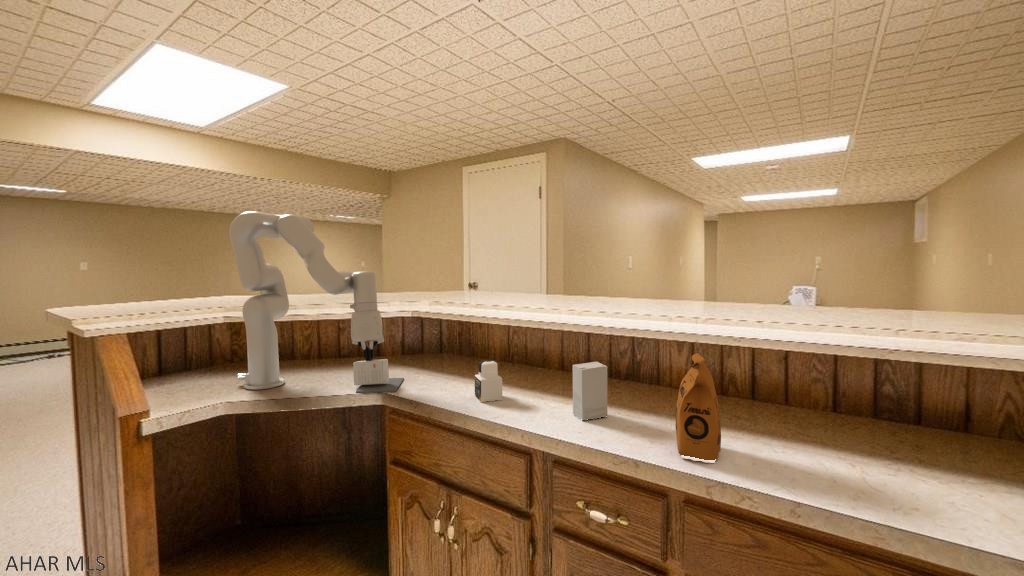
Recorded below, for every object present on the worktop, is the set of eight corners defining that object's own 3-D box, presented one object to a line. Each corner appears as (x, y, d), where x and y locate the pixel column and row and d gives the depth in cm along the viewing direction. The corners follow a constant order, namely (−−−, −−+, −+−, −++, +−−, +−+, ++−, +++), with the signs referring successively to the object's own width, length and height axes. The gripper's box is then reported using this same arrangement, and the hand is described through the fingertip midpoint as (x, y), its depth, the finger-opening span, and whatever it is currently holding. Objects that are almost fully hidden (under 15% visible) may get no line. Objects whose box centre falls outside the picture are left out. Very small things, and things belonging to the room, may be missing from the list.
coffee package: (671, 459, 103) (673, 361, 102) (676, 439, 115) (678, 350, 113) (720, 467, 99) (723, 366, 98) (720, 445, 111) (723, 354, 109)
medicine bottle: (474, 396, 150) (474, 359, 149) (495, 393, 152) (495, 357, 151) (480, 402, 143) (480, 364, 142) (502, 400, 146) (502, 362, 145)
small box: (359, 383, 164) (389, 382, 163) (353, 385, 158) (384, 384, 158) (359, 360, 164) (388, 358, 164) (352, 361, 159) (383, 360, 158)
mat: (355, 392, 154) (355, 391, 154) (367, 379, 170) (367, 378, 170) (395, 392, 155) (395, 390, 155) (403, 379, 170) (403, 377, 170)
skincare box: (597, 411, 135) (597, 360, 134) (608, 418, 129) (609, 365, 128) (571, 415, 132) (571, 363, 131) (581, 422, 126) (582, 368, 125)
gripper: (340, 309, 155) (343, 363, 157) (385, 307, 156) (389, 361, 158) (346, 307, 163) (350, 358, 164) (390, 305, 164) (393, 356, 165)
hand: (369, 360), depth 161 cm, fingers closed
